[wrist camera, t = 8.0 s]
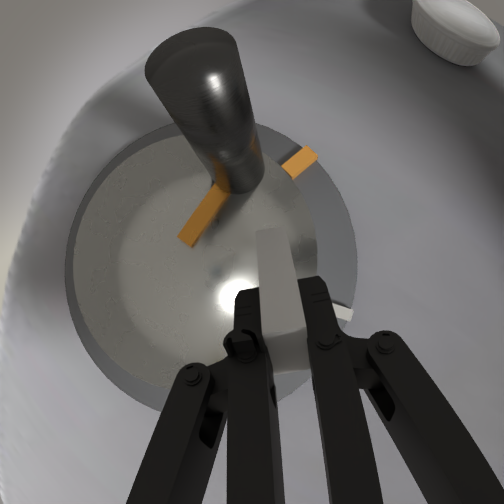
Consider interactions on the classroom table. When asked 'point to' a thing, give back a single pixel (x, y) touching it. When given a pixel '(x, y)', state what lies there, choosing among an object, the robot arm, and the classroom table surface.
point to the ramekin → (454, 30)
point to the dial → (185, 219)
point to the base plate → (327, 236)
